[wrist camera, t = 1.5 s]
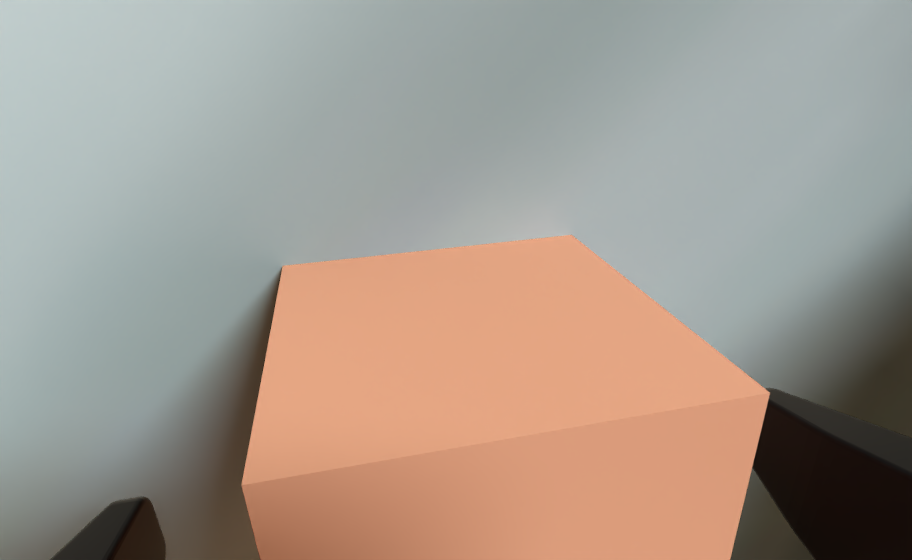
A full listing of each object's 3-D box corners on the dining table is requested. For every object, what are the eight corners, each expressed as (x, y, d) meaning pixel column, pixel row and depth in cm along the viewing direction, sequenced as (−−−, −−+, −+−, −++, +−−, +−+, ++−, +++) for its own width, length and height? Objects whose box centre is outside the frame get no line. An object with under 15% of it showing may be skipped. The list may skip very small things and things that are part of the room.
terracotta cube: (569, 233, 10) (769, 393, 5) (557, 451, 12) (696, 697, 7) (283, 264, 9) (241, 485, 5) (323, 494, 11) (321, 803, 7)
